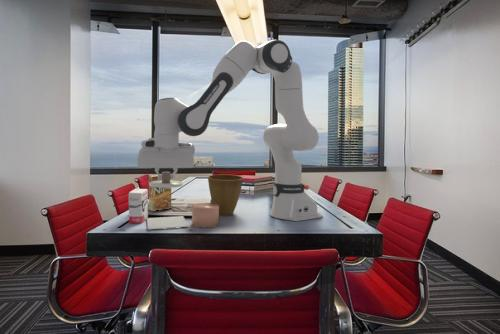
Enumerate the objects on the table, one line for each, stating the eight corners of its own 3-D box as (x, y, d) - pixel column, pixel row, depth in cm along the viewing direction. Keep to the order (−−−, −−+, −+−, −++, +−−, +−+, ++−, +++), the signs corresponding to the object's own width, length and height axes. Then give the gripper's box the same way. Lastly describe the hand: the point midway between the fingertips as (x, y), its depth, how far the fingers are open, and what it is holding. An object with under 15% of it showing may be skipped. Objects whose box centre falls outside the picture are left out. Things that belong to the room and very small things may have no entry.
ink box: (141, 223, 120) (141, 192, 119) (128, 223, 120) (128, 192, 119) (148, 217, 129) (148, 188, 127) (135, 217, 129) (135, 188, 127)
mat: (183, 217, 130) (183, 215, 130) (188, 227, 117) (188, 226, 117) (146, 219, 125) (146, 218, 125) (147, 230, 112) (147, 228, 112)
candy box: (151, 211, 137) (151, 176, 135) (148, 209, 141) (148, 175, 139) (171, 209, 142) (171, 175, 140) (168, 207, 146) (168, 174, 144)
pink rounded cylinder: (215, 219, 128) (215, 202, 128) (221, 226, 119) (221, 208, 118) (190, 221, 125) (190, 203, 124) (194, 228, 116) (194, 210, 115)
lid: (180, 182, 127) (180, 170, 126) (184, 187, 116) (184, 174, 115) (148, 182, 123) (148, 170, 122) (149, 188, 112) (149, 174, 111)
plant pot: (200, 214, 135) (200, 177, 133) (219, 207, 148) (220, 173, 146) (230, 220, 128) (231, 180, 126) (248, 212, 141) (249, 176, 139)
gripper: (193, 142, 124) (192, 178, 125) (137, 141, 117) (137, 178, 119) (196, 143, 118) (195, 180, 119) (137, 142, 111) (137, 181, 113)
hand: (166, 179), depth 119 cm, fingers closed on lid, 3 cm apart
